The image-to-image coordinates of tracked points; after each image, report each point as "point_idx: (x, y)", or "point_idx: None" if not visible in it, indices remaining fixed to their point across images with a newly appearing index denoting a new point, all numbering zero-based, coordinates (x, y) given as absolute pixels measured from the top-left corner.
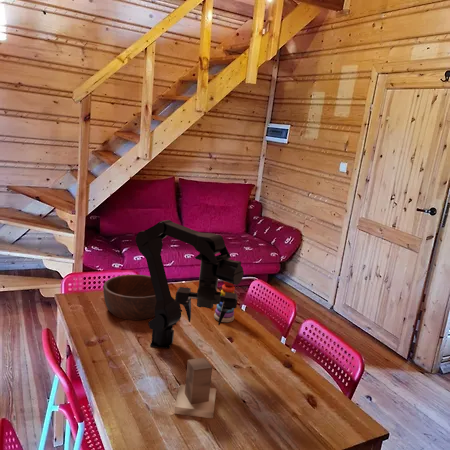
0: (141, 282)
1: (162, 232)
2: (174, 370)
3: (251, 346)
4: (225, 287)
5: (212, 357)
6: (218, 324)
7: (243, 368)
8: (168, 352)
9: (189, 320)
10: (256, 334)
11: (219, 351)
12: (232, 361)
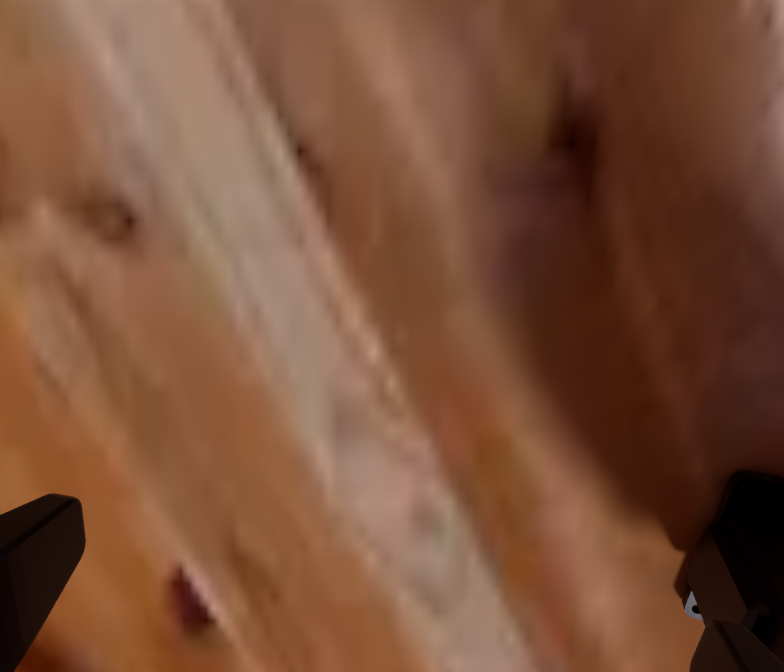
0: None
1: None
2: (737, 81)
3: None
4: None
5: (329, 350)
6: (62, 504)
7: (49, 188)
8: (749, 414)
9: (744, 646)
10: None
11: (269, 444)
12: (152, 296)
